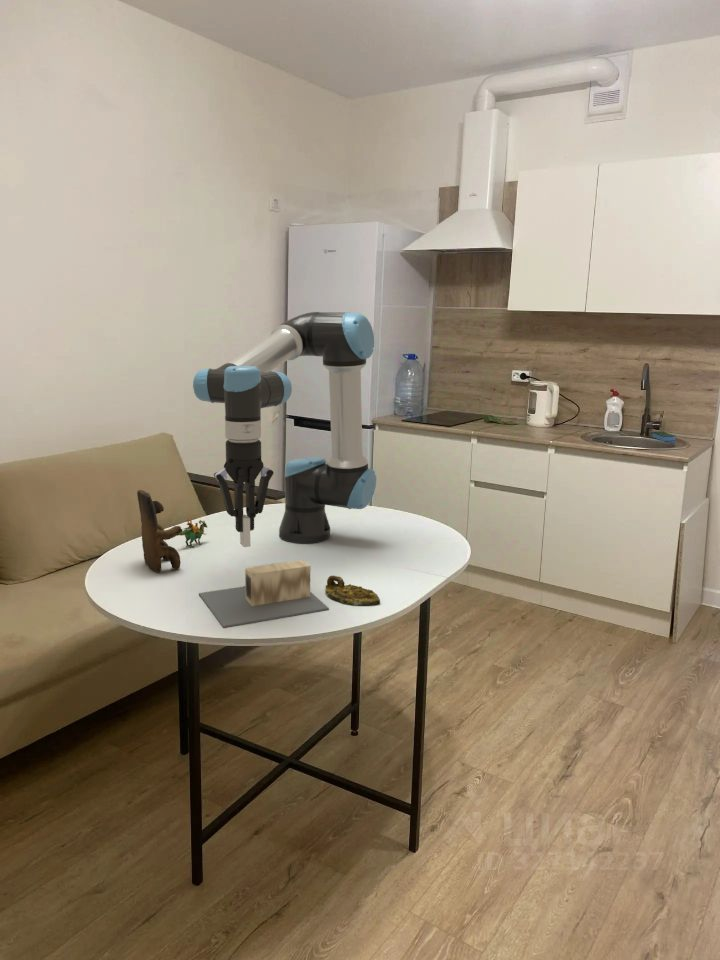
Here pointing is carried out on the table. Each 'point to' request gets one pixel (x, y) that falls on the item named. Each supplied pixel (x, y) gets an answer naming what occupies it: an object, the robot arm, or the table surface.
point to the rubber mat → (255, 607)
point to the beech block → (277, 582)
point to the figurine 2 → (193, 532)
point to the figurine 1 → (156, 534)
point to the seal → (349, 593)
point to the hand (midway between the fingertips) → (245, 544)
